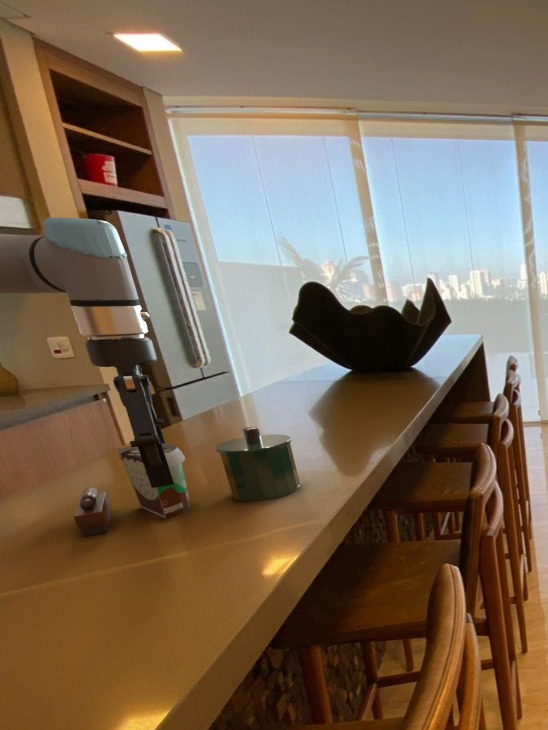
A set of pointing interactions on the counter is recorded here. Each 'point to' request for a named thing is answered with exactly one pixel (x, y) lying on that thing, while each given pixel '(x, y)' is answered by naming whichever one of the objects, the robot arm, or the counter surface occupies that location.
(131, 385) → the robot arm
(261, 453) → the pot
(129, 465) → the food container
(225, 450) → the pot lid
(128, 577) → the counter surface
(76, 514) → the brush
